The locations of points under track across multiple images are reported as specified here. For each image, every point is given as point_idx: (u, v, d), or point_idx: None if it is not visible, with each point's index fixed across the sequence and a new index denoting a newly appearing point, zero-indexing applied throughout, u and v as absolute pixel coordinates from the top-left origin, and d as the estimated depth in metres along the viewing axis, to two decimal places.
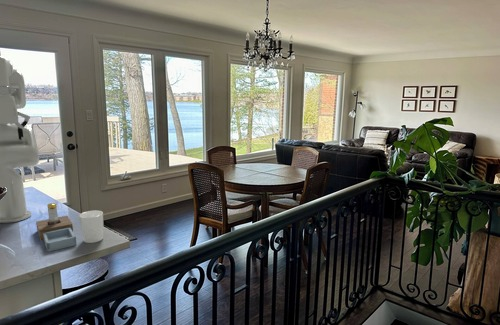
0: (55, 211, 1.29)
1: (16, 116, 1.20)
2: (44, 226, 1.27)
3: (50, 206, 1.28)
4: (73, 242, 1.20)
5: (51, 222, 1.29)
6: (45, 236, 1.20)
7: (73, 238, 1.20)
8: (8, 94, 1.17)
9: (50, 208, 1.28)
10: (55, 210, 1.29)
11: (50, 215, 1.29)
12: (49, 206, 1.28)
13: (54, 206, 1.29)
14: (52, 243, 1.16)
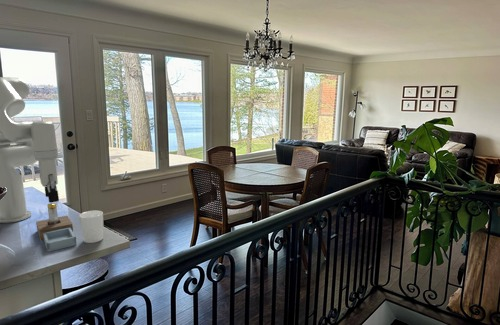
0: (55, 211, 1.29)
1: None
2: (44, 226, 1.27)
3: (50, 206, 1.28)
4: (73, 242, 1.20)
5: (51, 222, 1.29)
6: (45, 236, 1.20)
7: (73, 238, 1.20)
8: None
9: (50, 208, 1.28)
10: (55, 210, 1.29)
11: (50, 215, 1.29)
12: (49, 206, 1.28)
13: (54, 206, 1.29)
14: (52, 243, 1.16)
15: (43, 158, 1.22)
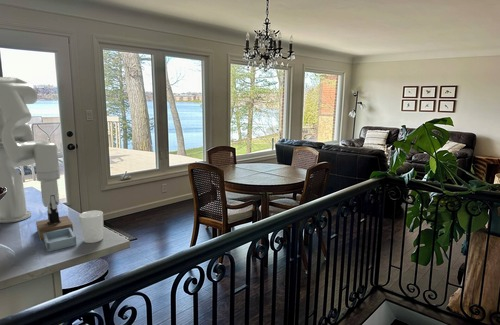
0: None
1: None
2: (44, 226, 1.27)
3: None
4: (73, 242, 1.20)
5: None
6: (45, 236, 1.20)
7: (73, 238, 1.20)
8: None
9: None
10: None
11: None
12: None
13: None
14: (52, 243, 1.16)
15: (45, 179, 1.24)
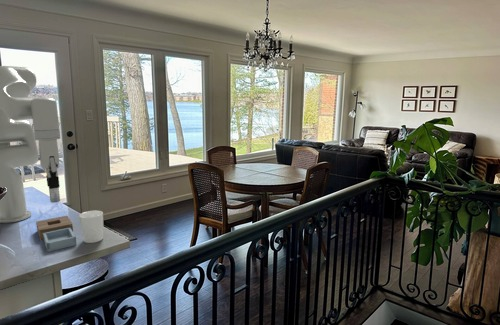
0: None
1: None
2: (44, 226, 1.27)
3: None
4: (73, 242, 1.20)
5: (51, 189, 1.17)
6: (45, 236, 1.20)
7: (73, 238, 1.20)
8: None
9: None
10: None
11: None
12: None
13: None
14: (52, 243, 1.16)
15: (44, 138, 1.11)
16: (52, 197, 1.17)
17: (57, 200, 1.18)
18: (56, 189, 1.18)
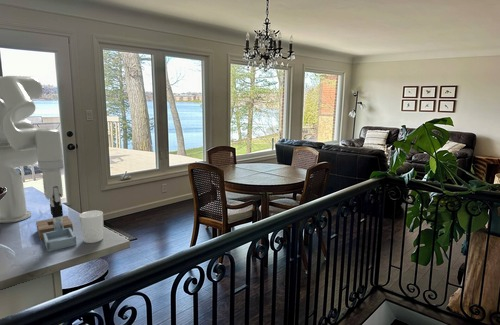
0: None
1: None
2: (44, 226, 1.27)
3: None
4: (73, 242, 1.20)
5: (54, 218, 1.19)
6: (45, 236, 1.20)
7: (73, 238, 1.20)
8: None
9: None
10: None
11: None
12: None
13: None
14: (52, 243, 1.16)
15: (48, 169, 1.13)
16: (56, 226, 1.19)
17: (60, 228, 1.20)
18: (59, 217, 1.20)
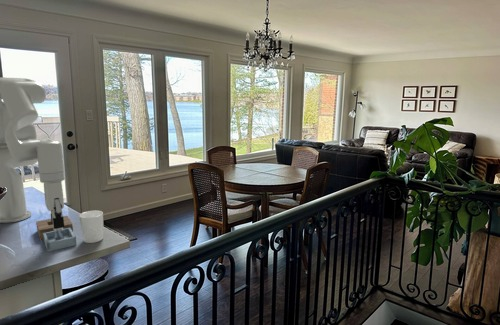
0: None
1: None
2: (44, 226, 1.27)
3: None
4: (73, 242, 1.20)
5: (55, 230, 1.20)
6: (45, 236, 1.20)
7: (73, 238, 1.20)
8: None
9: None
10: None
11: None
12: None
13: None
14: (52, 243, 1.16)
15: (49, 181, 1.14)
16: (57, 238, 1.20)
17: None
18: (60, 229, 1.21)
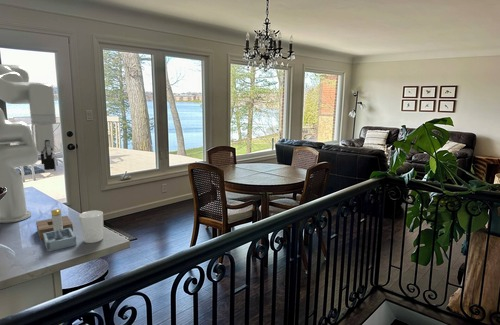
0: (59, 218, 1.20)
1: None
2: (44, 226, 1.27)
3: (54, 213, 1.19)
4: (73, 242, 1.20)
5: (55, 230, 1.20)
6: (45, 236, 1.20)
7: (73, 238, 1.20)
8: None
9: (54, 215, 1.19)
10: (59, 217, 1.20)
11: (54, 222, 1.19)
12: (53, 212, 1.18)
13: (58, 213, 1.19)
14: (52, 243, 1.16)
15: (40, 122, 1.15)
16: (57, 237, 1.20)
17: None
18: (60, 229, 1.21)
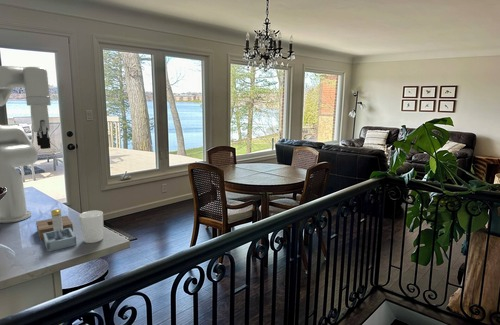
0: (59, 218, 1.20)
1: None
2: (44, 226, 1.27)
3: (54, 213, 1.18)
4: (73, 242, 1.20)
5: (55, 230, 1.20)
6: (45, 236, 1.20)
7: (73, 238, 1.20)
8: None
9: (54, 215, 1.19)
10: (59, 217, 1.20)
11: (54, 222, 1.19)
12: (53, 213, 1.18)
13: (58, 213, 1.19)
14: (52, 243, 1.16)
15: (35, 103, 1.21)
16: (57, 238, 1.20)
17: None
18: (60, 229, 1.21)
